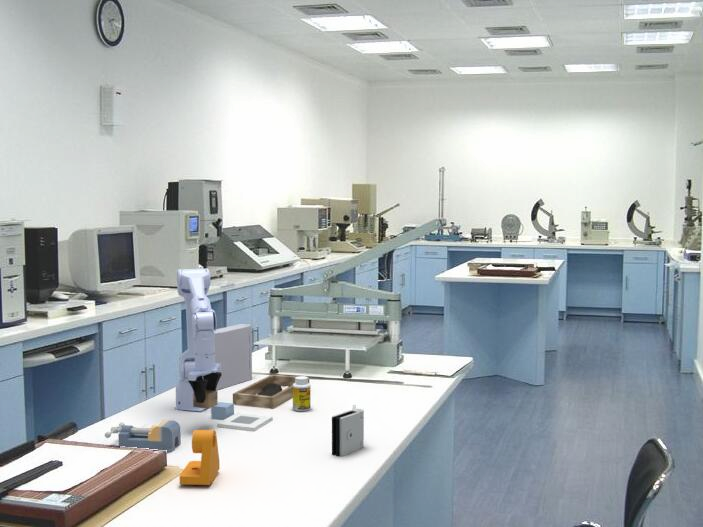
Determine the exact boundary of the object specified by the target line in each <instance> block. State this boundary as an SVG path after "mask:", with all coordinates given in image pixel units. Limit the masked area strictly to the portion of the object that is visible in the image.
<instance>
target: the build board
mask: <svg viewBox="0 0 703 527" xmlns="http://www.w3.org/2000/svg"><path fill="white" fill-rule="evenodd" d="M272 421H274V420H273V416H272V415H271V416H268V415H260V414H252V413H243V412H241V413H240V412H236V413H234V415H232V416H230V417H228V418H226V419H225V420H220V421H218V422H217V423H216V427H217V428H223V429H224V428H225V429H232V430H239V431H241V430H242V431H249V432H255V431H257V430H259V429H260V428H262V427H264V426H266V425H267V424H268V423H270V422H272Z"/></svg>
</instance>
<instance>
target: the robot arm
mask: <svg viewBox="0 0 703 527" xmlns="http://www.w3.org/2000/svg"><path fill="white" fill-rule="evenodd" d="M176 282H177V284H176V285H177V286H176V287H177V293H178V294H177V295H178V296H180V297H182V298H183V299H184V302H185V313H186V314H185V315H186V317H185V320H186V341H187V344H186V345H187V349H186V350H184V351H183V352H182V353H180V355H179V357H178V359H179V360H178V373H179V374H178V376H179V378H180V379H179V380H178V381H177V383H176V387H175V407H174V409H175V410H182V411H188V412H189V411H190V412H201V413H202V412H203V411H204V410H207V408H198V407H193V393H194V394H195V398H196V401H197V402H199V403H204V400H205V390H211V391H217V390H216V388H217V384H218V382H219V379H220V377H221V375H222V373H221V372H218V371H220V370H221V364H219V363H215V337H214V331H216V329H217V321H218V320H217V315H216V311H215V310H214V309H212V305H211V301H210V298H209V297H208V296H207V295H208V292H209V289H210V286H211V272H210V269H209V268H190V269H189V268H186V269H181V268H179V269H178V270H177V272H176ZM213 330H214V331H213ZM189 358H195V359H194V360H189Z"/></svg>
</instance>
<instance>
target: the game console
mask: <svg viewBox="0 0 703 527" xmlns="http://www.w3.org/2000/svg"><path fill="white" fill-rule="evenodd" d="M213 331H214V329H213ZM214 337H215V363H219V364H221V370H220V371H218V372H221V373H222V375H221V377H220V379H219V382H218V384H217V388H216V391H218V390H222V389H224V388H228V387H232V386H234V385H239V384H241V383H244V382H245V383H246V382H247V381H251V380H253V357H252V356H253V354H252V351H253V350H252V348H253V344H252V341H253V339H252V338H253V337H252V324H248V323H239V324H235V325H230V326H226V327H220V328H216V331H214ZM194 359H195V358H188V360H194Z"/></svg>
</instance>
